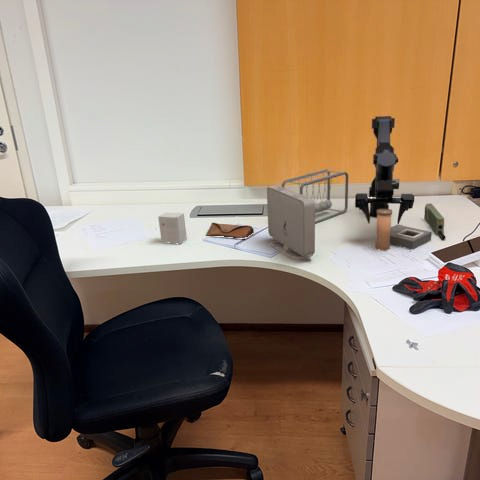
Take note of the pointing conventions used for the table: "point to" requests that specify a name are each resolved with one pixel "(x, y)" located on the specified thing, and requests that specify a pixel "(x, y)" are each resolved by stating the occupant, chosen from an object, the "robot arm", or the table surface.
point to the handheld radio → (434, 220)
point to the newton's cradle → (326, 203)
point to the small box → (172, 227)
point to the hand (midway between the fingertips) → (383, 223)
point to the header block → (408, 236)
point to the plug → (383, 229)
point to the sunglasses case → (229, 230)
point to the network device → (291, 221)
